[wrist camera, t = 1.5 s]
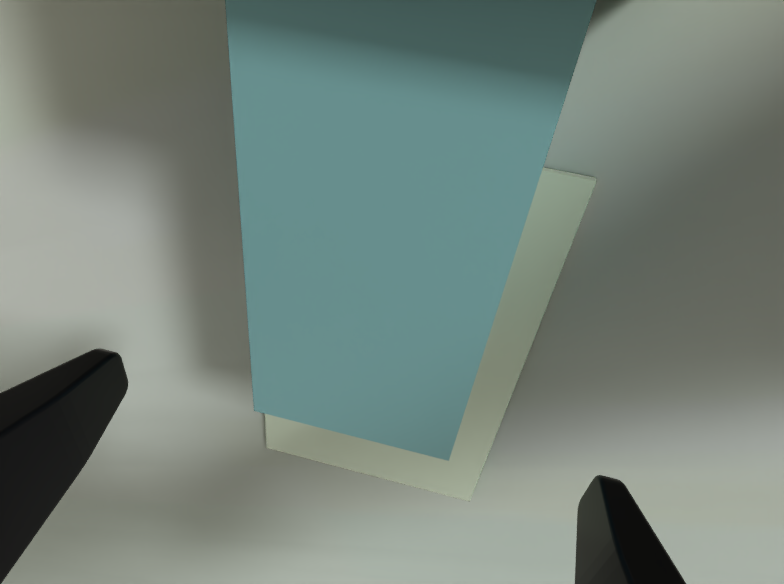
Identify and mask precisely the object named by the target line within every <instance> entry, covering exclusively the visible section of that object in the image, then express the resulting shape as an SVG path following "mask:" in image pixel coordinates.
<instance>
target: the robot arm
mask: <svg viewBox="0 0 784 584" xmlns="http://www.w3.org/2000/svg"><path fill="white" fill-rule="evenodd" d="M127 388H128V379H127V375H126V372H125V369H124V365H123V362H122V358H121V356H120V355H119V354H118V353H116V352H113V351H109V350H105V349H94V350H91V351H89V352H87V353H85V354H83V355H81V356H79V357H76V358H74V359H72V360H70V361H68V362H66V363H64V364H62V365H59V366H57V367H55V368H53V369H51V370H49V371H47V372H44V373H42V374H40V375H38V376H36V377H34V378H32V379H30V380H27V381H25V382H23V383H21V384H19V385H17V386H15V387H12V388H10V389H8V390H6V391H4V392H2V393H0V584H1V583H2V582H3V580H4V579H5V577H6V576H7V574H8V573H9V572H10V570H11V569H12V567H13V566H14V565H15V563H16V562H17V560H18V559H19V558H20V556H21V555H22V553H23V552H24V550H25V549H26V548H27V546H28V545H29V543H30V542H31V541H32V539H33V538H34V536H35V535H36V534H37V532H38V531H39V529H40V528H41V526H42V525H43V524H44V522H45V521H46V519H47V518H48V517H49V515H50V514H51V512H52V511H53V510H54V508H55V507H56V505H57V504H58V502H59V501H60V500H61V498H62V497H63V495H64V494H65V493H66V491H67V490H68V488H69V487H70V485H71V484H72V483H73V481H74V480H75V478H76V477H77V476H78V474H79V473H80V471H81V470H82V468H83V467H84V465H85V464H86V462H87V460H88V459H89V457H90V456H91V454H92V452H93V450H94V449H95V447H96V445H97V443H98V442H99V440H100V438H101V436H102V435H103V433H104V431H105V429H106V428H107V426H108V424H109V422H110V420H111V419H112V417H113V415H114V413H115V412H116V410H117V408H118V406H119V405H120V403H121V401H122V399H123V398H124V396H125V394H126V391H127ZM575 584H686V583H685V581H684V579H683V578H682V576H681V575H680V573H679V571H678V570H677V568H676V566H675V565H674V563H673V562H672V560H671V558H670V557H669V555H668V554H667V552H666V550H665V549H664V547H663V546H662V544H661V542H660V541H659V539H658V537H657V536H656V534H655V533H654V531H653V529H652V528H651V526H650V525H649V523H648V521H647V520H646V518H645V517H644V515H643V513H642V512H641V510H640V508H639V507H638V505H637V504H636V502H635V500H634V499H633V497H632V496H631V494H630V492H629V491H628V489H627V488H626V486H625V485H624V484H623V483H622V482H621V481H620V480H618V479H614V478H610V477H606V476H602V475H598V476H596V477H595V478H594V479H593V481H592V482H591V484H590V485H589V487H588V488H587V490H586V492H585V493H584V495H583V496H582V498H581V500H580V502H579V506H578V516H577V542H576V568H575Z"/></svg>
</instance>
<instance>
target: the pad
mask: <svg viewBox="0 0 784 584" xmlns="http://www.w3.org/2000/svg"><path fill="white" fill-rule="evenodd" d="M596 182H597V181H596V178H595V177H590V176H584V175H579V174H574V173H569V172H564V171H559V170H554V169H549V168H544V167H543V169H542V172H541V175H540V178H539V181H538V185H537V188H536V191H535V194H534V197H533V200H532V203H531V206H530V210H529V213H528V216H527V219H526V222H525V225H524V228H523V231H522V234H521V238H520V241H519V244H518V247H517V250H516V253H515V256H514V259H513V262H512V266H511V269H510V272H509V275H508V278H507V281H506V284H505V287H504V291H503V294H502V297H501V300H500V303H499V306H498V309H497V312H496V315H495V319H494V322H493V325H492V328H491V331H490V334H489V337H488V340H487V343H486V347H485V350H484V353H483V356H482V359H481V362H480V365H479V368H478V372H477V375H476V378H475V381H474V384H473V387H472V390H471V393H470V396H469V400H468V403H467V406H466V409H465V412H464V415H463V418H462V421H461V424H460V428H459V431H458V434H457V437H456V440H455V443H454V446H453V449H452V453H451V456H450V459H449V461H447V460H443V459H439V458H435V457H432V456H428V455H424V454H420V453H416V452H412V451H408V450H404V449H400V448H397V447H393V446H389V445H385V444H381V443H377V442H373V441H369V440H365V439H362V438H358V437H354V436H350V435H346V434H342V433H338V432H334V431H330V430H327V429H323V428H319V427H315V426H311V425H307V424H303V423H299V422H295V421H292V420H288V419H284V418H280V417H276V416H272V415H268V414H265V425H266V445H267V448H268V449H272V450H276V451H280V452H284V453H287V454H291V455H295V456H299V457H303V458H306V459H310V460H314V461H318V462H321V463H325V464H329V465H333V466H337V467H340V468H344V469H348V470H352V471H356V472H359V473H363V474H367V475H371V476H375V477H378V478H382V479H386V480H390V481H393V482H397V483H401V484H405V485H409V486H412V487H416V488H420V489H424V490H428V491H431V492H435V493H439V494H443V495H447V496H450V497H454V498H458V499H462V500H466V501H469V502H470V499H471V497H472V494H473V492H474V489H475V487H476V484H477V482H478V479H479V477H480V474H481V472H482V469H483V467H484V464H485V462H486V459H487V457H488V454H489V452H490V449H491V447H492V444H493V441H494V439H495V436H496V434H497V431H498V429H499V426H500V424H501V421H502V419H503V416H504V414H505V411H506V409H507V406H508V404H509V401H510V399H511V396H512V394H513V391H514V389H515V386H516V384H517V381H518V378H519V376H520V373H521V371H522V368H523V366H524V363H525V361H526V358H527V356H528V353H529V351H530V348H531V346H532V343H533V341H534V338H535V336H536V333H537V331H538V328H539V326H540V323H541V321H542V318H543V315H544V313H545V310H546V308H547V305H548V303H549V300H550V298H551V295H552V293H553V290H554V288H555V285H556V283H557V280H558V278H559V275H560V273H561V270H562V268H563V265H564V263H565V260H566V258H567V255H568V252H569V250H570V247H571V245H572V242H573V240H574V237H575V235H576V232H577V230H578V227H579V225H580V222H581V220H582V217H583V215H584V212H585V210H586V207H587V205H588V202H589V200H590V197H591V195H592V192H593V189H594V187H595V184H596Z"/></svg>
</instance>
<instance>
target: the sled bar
mask: <svg viewBox="0 0 784 584" xmlns="http://www.w3.org/2000/svg"><path fill="white" fill-rule="evenodd" d="M596 1H597V0H225V4H226V19H227V33H228V47H229V61H230V75H231V89H232V104H233V118H234V132H235V146H236V160H237V175H238V189H239V203H240V217H241V231H242V246H243V260H244V274H245V288H246V302H247V316H248V331H249V345H250V359H251V373H252V387H253V402H254V411H257V412H260V413H264V414H268V415H272V416H276V417H280V418H284V419H288V420H292V421H295V422H299V423H303V424H307V425H311V426H315V427H319V428H323V429H327V430H330V431H334V432H338V433H342V434H346V435H350V436H354V437H358V438H362V439H365V440H369V441H373V442H377V443H381V444H385V445H389V446H393V447H397V448H400V449H404V450H408V451H412V452H416V453H420V454H424V455H428V456H432V457H435V458H439V459H443V460H447V461H449V459H450V456H451V453H452V449H453V446H454V443H455V440H456V437H457V434H458V431H459V428H460V424H461V421H462V418H463V415H464V412H465V409H466V406H467V403H468V400H469V396H470V393H471V390H472V387H473V384H474V381H475V378H476V375H477V372H478V368H479V365H480V362H481V359H482V356H483V353H484V350H485V347H486V343H487V340H488V337H489V334H490V331H491V328H492V325H493V322H494V319H495V315H496V312H497V309H498V306H499V303H500V300H501V297H502V294H503V291H504V287H505V284H506V281H507V278H508V275H509V272H510V269H511V266H512V262H513V259H514V256H515V253H516V250H517V247H518V244H519V241H520V238H521V234H522V231H523V228H524V225H525V222H526V219H527V216H528V213H529V210H530V206H531V203H532V200H533V197H534V194H535V191H536V188H537V185H538V181H539V178H540V175H541V172H542V169H543V166H544V163H545V160H546V157H547V153H548V150H549V147H550V144H551V141H552V138H553V135H554V132H555V129H556V125H557V122H558V119H559V116H560V113H561V110H562V107H563V104H564V100H565V97H566V94H567V91H568V88H569V85H570V82H571V79H572V76H573V72H574V69H575V66H576V63H577V60H578V57H579V54H580V51H581V48H582V44H583V41H584V38H585V35H586V32H587V29H588V26H589V23H590V20H591V16H592V13H593V10H594V7H595V4H596Z"/></svg>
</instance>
